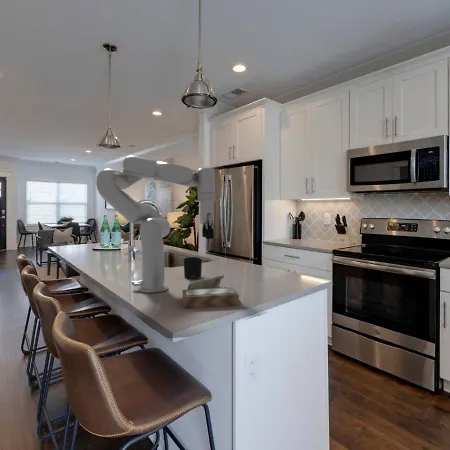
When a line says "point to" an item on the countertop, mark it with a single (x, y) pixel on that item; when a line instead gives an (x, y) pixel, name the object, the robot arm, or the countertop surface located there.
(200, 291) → the walnut plinth
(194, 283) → the decorative bird
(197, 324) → the countertop surface
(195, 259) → the pen holder
